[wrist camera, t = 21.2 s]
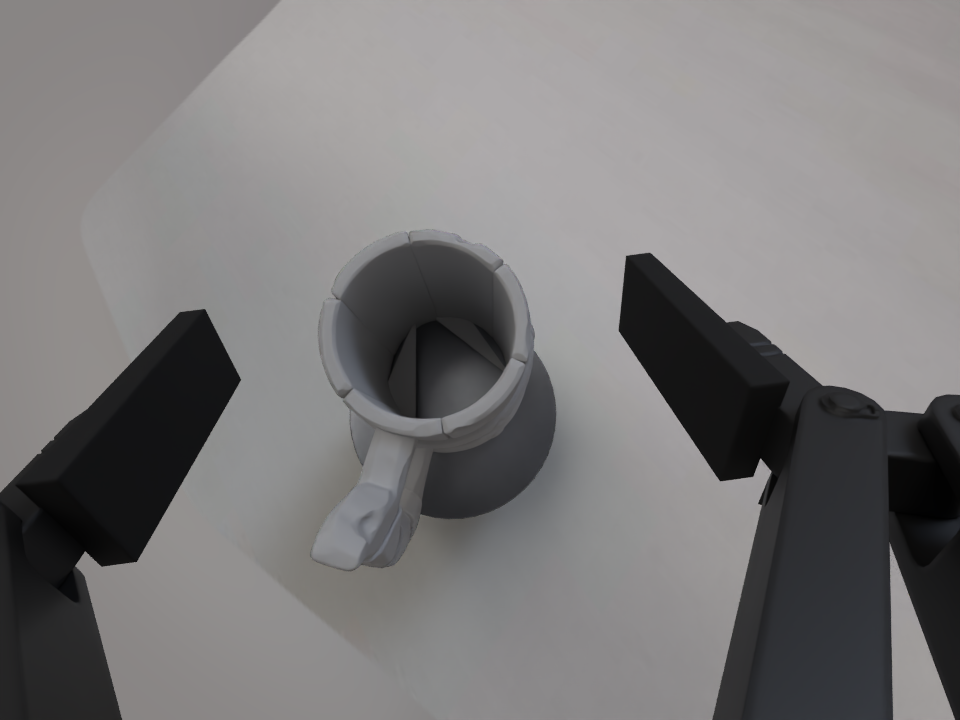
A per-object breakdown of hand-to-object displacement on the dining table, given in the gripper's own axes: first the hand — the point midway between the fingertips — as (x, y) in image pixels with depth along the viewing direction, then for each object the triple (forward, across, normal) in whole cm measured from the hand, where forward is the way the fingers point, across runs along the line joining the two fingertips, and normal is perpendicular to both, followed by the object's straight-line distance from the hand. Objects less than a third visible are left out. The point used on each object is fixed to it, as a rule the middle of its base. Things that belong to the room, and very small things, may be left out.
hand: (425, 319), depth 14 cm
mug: (+4, -1, -8) cm, 9 cm away
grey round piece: (+10, 0, -13) cm, 16 cm away
